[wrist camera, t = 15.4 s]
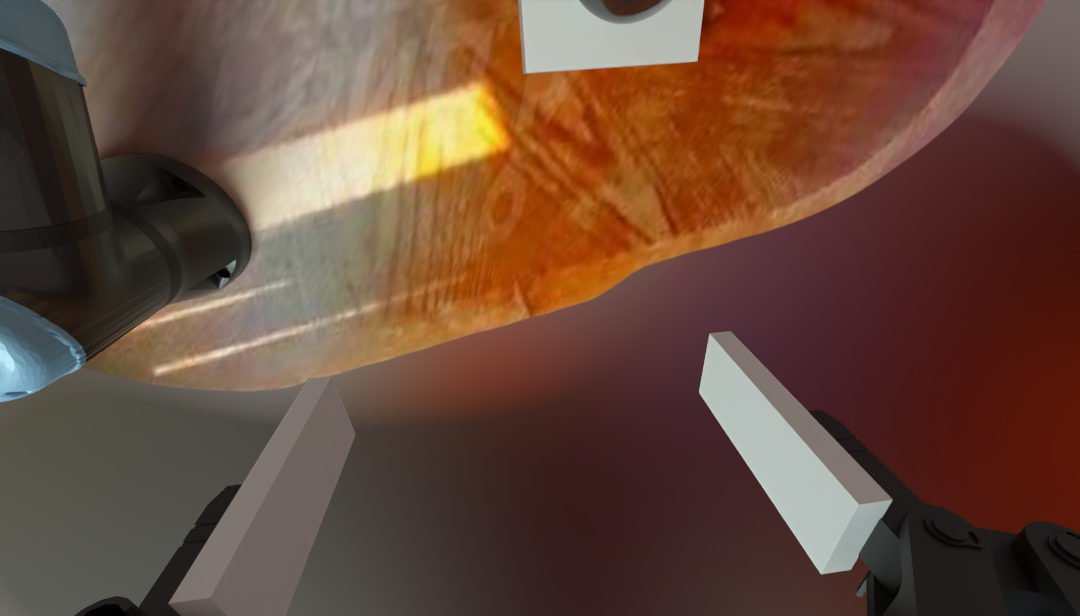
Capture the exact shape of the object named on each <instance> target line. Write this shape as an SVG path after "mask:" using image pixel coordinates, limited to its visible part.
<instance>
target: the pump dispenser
mask: <svg viewBox="0 0 1080 616" xmlns="http://www.w3.org/2000/svg"><path fill="white" fill-rule="evenodd" d="M579 1H580V2H581V4H582V5H583V6H584V7H585V8H586V9H587V10H588V11H589V12H591V13H592V14H593V15H595V16H596V17H598V18H600V19H602V20H604V21H607V22H610V23H614V24H631V23H636V22H639V21H642V20H645V19H647V18H649V17H651V16H653V15H655V14H656V13H658V12H659V11H661V10H662V9H664V8H665V7H666V6H667V5H669V4H670V3H671V2H672V1H673V0H579Z"/></svg>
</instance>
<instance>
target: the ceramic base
mask: <svg viewBox="0 0 1080 616" xmlns="http://www.w3.org/2000/svg"><path fill="white" fill-rule="evenodd" d="M518 8H519V22H520V37H521V51H522V65H523V74H530V73H545V72H559V71H574V70H588V69H603V68H617V67H632V66H647V65H661V64H676V63H686V62H695V61H697V59H698V51H699V42H700V34H701V25H702V16H703V8H704V0H673V1H672V2H671V3H670V4H669V5H667V6H666V7H665V8H664V9H662V10H661V11H659V12H658V13H656V14H655V15H653V16H651V17H649V18H647V19H645V20H642V21H639V22H636V23H631V24H614V23H610V22H607V21H604V20H602V19H600V18H598V17H596V16H595V15H593V14H592V13H591V12H589V11H588V10H587V9H586V8H585V7H584V6H583V5H582V4H581V2H580V1H579V0H518Z"/></svg>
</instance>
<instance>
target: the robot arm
mask: <svg viewBox="0 0 1080 616" xmlns="http://www.w3.org/2000/svg"><path fill="white" fill-rule="evenodd" d="M82 86H83V87H87V85H86V81H85V79H84V78H83V77H82V76H81V75H80V74H79V72H78V68H77V65H76V61H75V58H74V54H73V51H72V48H71V44H70V41H69V37H68V34H67V31H66V28H65V26H64V25H63V23H62V21H61V20H60V18H59V17H58V16H57V14H56V13H55V12H54V11H53V10H52V9H51V8H50V7H49V6H47V5H46V4H45V3H44V2H42V1H41V0H0V402H3V401H9V400H13V399H17V398H21V397H24V396H27V395H29V394H32V393H34V392H36V391H38V390H40V389H42V388H43V387H45V386H46V385H48V384H50V383H51V382H53V381H55V380H57V379H58V378H60V377H62V376H63V375H65V374H68V373H72V372H74V371H75V370H77V369H79V368H80V367H82V366H83V365H84V364H85V363H86V362H88V361H89V360H90V359H92V358H93V357H95V356H96V355H97V354H99V353H100V352H102V351H103V350H104V349H106V348H107V347H109V346H110V345H111V344H113V343H114V342H116V341H117V340H118V339H120V338H121V337H123V336H124V335H125V334H127V333H128V332H129V331H131V330H132V329H134V328H135V327H136V326H138V325H139V324H141V323H142V322H143V321H145V320H146V319H148V318H149V317H150V316H152V315H153V314H155V313H156V312H157V311H159V310H160V309H162V308H163V307H165V306H166V305H169V304H173V303H178V302H182V301H186V300H191V299H195V298H199V297H203V296H207V295H210V294H213V293H215V292H217V291H219V290H221V289H222V288H224V287H225V286H227V285H228V284H229V283H231V282H232V281H233V280H235V279H236V278H237V277H238V276H239V275H240V274H241V273H242V272H243V270H244V269H245V267H246V265H247V263H248V260H249V256H250V248H251V244H250V236H249V232H248V228H247V225H246V223H245V221H244V218H243V216H242V215H241V213H240V211H239V210H238V208H237V206H236V205H235V204H234V202H233V201H232V200H231V199H230V197H229V196H228V195H227V194H226V193H225V192H224V191H223V190H222V189H221V188H220V187H219V186H218V185H216V184H215V183H214V182H213V181H212V180H210V179H209V178H208V177H206V176H205V175H203V174H202V173H200V172H199V171H197V170H195V169H193V168H192V167H190V166H188V165H185V164H183V163H181V162H179V161H176V160H173V159H170V158H167V157H163V156H159V155H153V154H144V153H133V154H125V155H120V156H115V157H110V158H105V159H102V160H100V159H99V155H98V150H97V146H96V142H95V138H94V134H93V129H92V125H91V121H90V117H89V113H88V108H87V104H86V100H85V96H84V92H83V87H82ZM699 393H700V395H701V396H702V398H703V399H704V401H705V402H706V404H707V405H708V407H709V408H710V410H711V411H712V413H713V414H714V415H715V417H716V419H717V420H718V422H719V423H720V424H721V426H722V427H723V429H724V430H725V432H726V433H727V435H728V436H729V438H730V439H731V441H732V442H733V444H734V445H735V447H736V448H737V450H738V451H739V453H740V454H741V456H742V457H743V459H744V460H745V461H746V463H747V465H748V466H749V468H750V469H751V471H752V472H753V474H754V475H755V476H756V478H757V479H758V481H759V483H760V484H761V485H762V487H763V489H764V490H765V492H766V493H767V494H768V496H769V497H770V499H771V500H772V502H773V503H774V505H775V506H776V508H777V509H778V511H779V512H780V514H781V515H782V517H783V518H784V520H785V521H786V523H787V524H788V526H789V527H790V529H791V530H792V532H793V533H794V535H795V536H796V538H797V539H798V541H799V542H800V544H801V545H802V546H803V548H804V549H805V551H806V552H807V554H808V556H809V557H810V558H811V560H812V561H813V563H814V564H815V566H816V567H817V569H818V570H819V572H820V573H821V574H826V573H832V572H839V571H846V570H851V568H852V566H853V564H854V563H855V561H856V560H857V558H858V557H859V556H860V557H861V559H862V560H863V561H864V563H865V564H866V565H867V567H868V568H869V571H868V572H867V574H866V576H865V577H864V579H863V580H862V582H861V583H860V585H859V586H858V589H857V592H856V595H857V596H859V597H862V596H863V594H864V592H865V591H866V592H867V616H1080V534H1079V533H1077V532H1075V531H1073V530H1071V529H1069V528H1066V527H1063V526H1060V525H1057V524H1054V523H1051V522H1041V521H1035V522H1032V523H1029V524H1027V525H1026V526H1025V527H1024V528H1023V529H1022V530H1021V531H1020V532H1019V533H1018V534H1015V533H1009V532H1003V531H996V530H990V529H984V528H978V527H974V526H973V525H972V524H970V523H969V522H967V521H966V520H965V519H963V518H962V517H960V516H959V515H957V514H955V513H953V512H951V511H949V510H947V509H945V508H942V507H938V506H935V505H931V504H925V503H924V502H923V501H922V500H920V499H919V498H918V497H917V496H916V495H915V494H914V493H913V492H912V491H911V490H910V489H909V488H908V487H907V486H906V485H905V484H904V483H903V482H902V481H901V480H900V479H899V478H898V477H897V476H895V475H894V474H893V473H892V472H891V471H890V470H889V469H888V468H887V467H886V466H885V465H884V464H883V463H882V462H881V461H880V460H879V459H878V458H877V457H876V456H875V455H874V454H873V453H872V452H869V451H868V448H867V447H865V445H863V443H861V442H860V441H859V440H856V438H855V436H854V435H853V434H852V433H851V432H850V431H849V430H848V429H847V428H846V427H845V426H844V425H843V424H842V423H841V422H839V421H838V420H836V419H835V418H833V417H831V416H829V415H828V414H826V413H825V412H823V411H821V410H815V411H807V410H806V409H805V408H804V407H803V406H802V405H801V404H800V403H799V402H798V401H797V400H796V399H795V398H794V397H793V396H792V395H791V393H789V391H787V389H786V388H785V387H784V386H783V385H782V384H781V383H780V382H779V381H778V380H777V379H776V378H775V377H774V376H773V375H772V374H771V373H770V372H769V371H768V370H767V369H766V368H765V367H764V366H763V365H762V363H761V362H760V361H759V360H758V359H757V358H756V357H755V356H754V355H753V354H752V353H751V352H750V351H749V350H748V349H747V348H746V347H745V346H744V345H743V344H742V343H741V342H740V341H739V340H738V339H737V338H736V337H735V335H734V334H733V333H732V332H730V331H728V332H719V333H710V335H709V340H708V346H707V351H706V356H705V362H704V368H703V374H702V379H701V384H700V390H699ZM354 437H355V432H354V430H353V427H352V425H351V422H350V420H349V417H348V415H347V412H346V410H345V408H344V405H343V403H342V400H341V398H340V396H339V393H338V391H337V388H336V386H335V383H334V381H333V378H332V376H328V377H319V378H310V379H308V380H307V381H306V383H305V385H304V386H303V388H302V389H301V391H300V393H299V394H298V396H297V397H296V399H295V401H294V402H293V404H292V406H291V407H290V409H289V411H288V412H287V413H286V415H285V417H284V418H283V420H282V421H281V423H280V425H279V426H278V428H277V430H276V431H275V433H274V435H273V436H272V438H271V439H270V441H269V442H268V444H267V446H266V447H265V449H264V451H263V452H262V454H261V455H260V457H259V459H258V460H257V462H256V463H255V465H254V466H253V468H252V470H251V471H250V473H249V475H248V476H247V478H246V479H245V481H244V483H243V484H241V485H233V486H227V487H226V488H225V489H224V490H223V491H222V492H221V493H220V494H219V495H218V496H217V497H216V498H214V499H213V501H211V502H210V503H209V504H208V505H207V507H206V508H205V510H204V511H203V513H202V514H201V515H200V517H199V518H198V520H197V521H196V523H195V525H194V529H191V530H190V532H189V533H188V535H187V536H186V538H185V539H184V541H183V542H182V543H183V545H182V546H181V547H179V548H178V550H177V551H176V553H175V554H174V556H173V557H172V559H171V560H170V561H169V563H168V564H167V566H166V567H165V569H164V570H163V572H162V573H161V575H160V576H159V578H158V579H157V581H156V582H155V584H154V585H153V587H152V588H151V590H150V591H149V593H148V594H147V596H146V597H145V599H144V600H143V602H142V603H141V604H140V606H139V607H137V606H136V605H135V604H134V603H132V602H131V601H130V600H129V599H128V598H123V597H119V596H116V597H112V598H107V599H103V600H100V601H98V602H96V603H94V604H92V605H91V606H88V607H87V608H85V609H83V610H81V611H80V612H79V613H77V614H76V615H75V616H285V614H286V612H287V609H288V607H289V604H290V602H291V599H292V596H293V594H294V591H295V589H296V586H297V584H298V581H299V578H300V576H301V573H302V571H303V568H304V566H305V563H306V560H307V558H308V555H309V553H310V550H311V547H312V545H313V542H314V540H315V537H316V534H317V532H318V529H319V527H320V524H321V522H322V519H323V517H324V514H325V512H326V509H327V506H328V504H329V501H330V498H331V496H332V494H333V491H334V488H335V486H336V483H337V481H338V478H339V475H340V473H341V470H342V467H343V465H344V462H345V460H346V457H347V455H348V452H349V450H350V447H351V445H352V442H353V439H354Z"/></svg>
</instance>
